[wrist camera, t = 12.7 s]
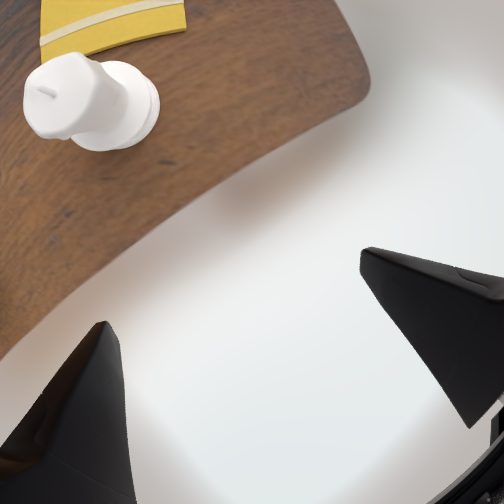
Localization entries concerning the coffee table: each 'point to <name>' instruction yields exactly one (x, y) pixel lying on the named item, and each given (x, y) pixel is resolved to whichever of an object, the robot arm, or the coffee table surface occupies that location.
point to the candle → (90, 102)
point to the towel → (104, 24)
